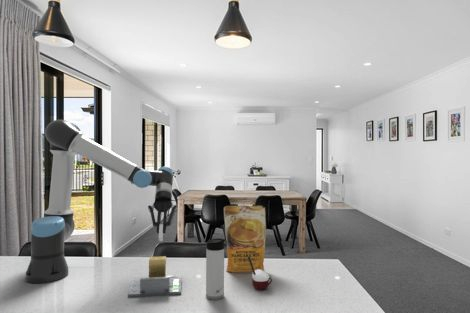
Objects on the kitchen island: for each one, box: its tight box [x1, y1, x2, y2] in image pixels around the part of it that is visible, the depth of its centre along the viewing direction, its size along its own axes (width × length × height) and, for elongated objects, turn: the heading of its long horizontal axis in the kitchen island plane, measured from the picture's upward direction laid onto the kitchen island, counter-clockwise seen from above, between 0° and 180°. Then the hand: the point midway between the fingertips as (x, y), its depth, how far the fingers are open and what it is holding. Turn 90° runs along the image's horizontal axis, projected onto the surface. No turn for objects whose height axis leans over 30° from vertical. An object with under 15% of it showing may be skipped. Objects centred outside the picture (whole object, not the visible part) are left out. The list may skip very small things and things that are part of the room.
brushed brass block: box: [148, 255, 178, 279], centre depth 122 cm, size 10×4×9 cm, turn 98°
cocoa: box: [248, 256, 273, 291], centre depth 119 cm, size 10×6×12 cm, turn 86°
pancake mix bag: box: [223, 204, 267, 274], centre depth 139 cm, size 7×19×28 cm, turn 95°
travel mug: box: [205, 237, 226, 301], centre depth 112 cm, size 6×7×20 cm
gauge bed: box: [127, 276, 183, 298], centre depth 118 cm, size 18×13×6 cm
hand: (160, 239), depth 131 cm, fingers closed
